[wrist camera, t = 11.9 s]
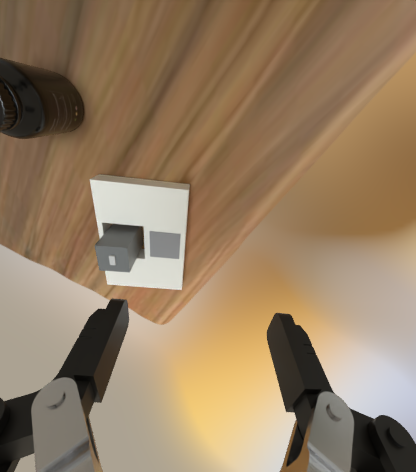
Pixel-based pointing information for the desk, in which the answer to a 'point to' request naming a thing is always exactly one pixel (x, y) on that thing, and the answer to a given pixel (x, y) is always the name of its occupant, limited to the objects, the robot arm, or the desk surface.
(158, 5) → the desk surface
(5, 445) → the robot arm
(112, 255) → the charger
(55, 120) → the supplement bottle
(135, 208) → the outlet plate
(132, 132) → the desk surface
